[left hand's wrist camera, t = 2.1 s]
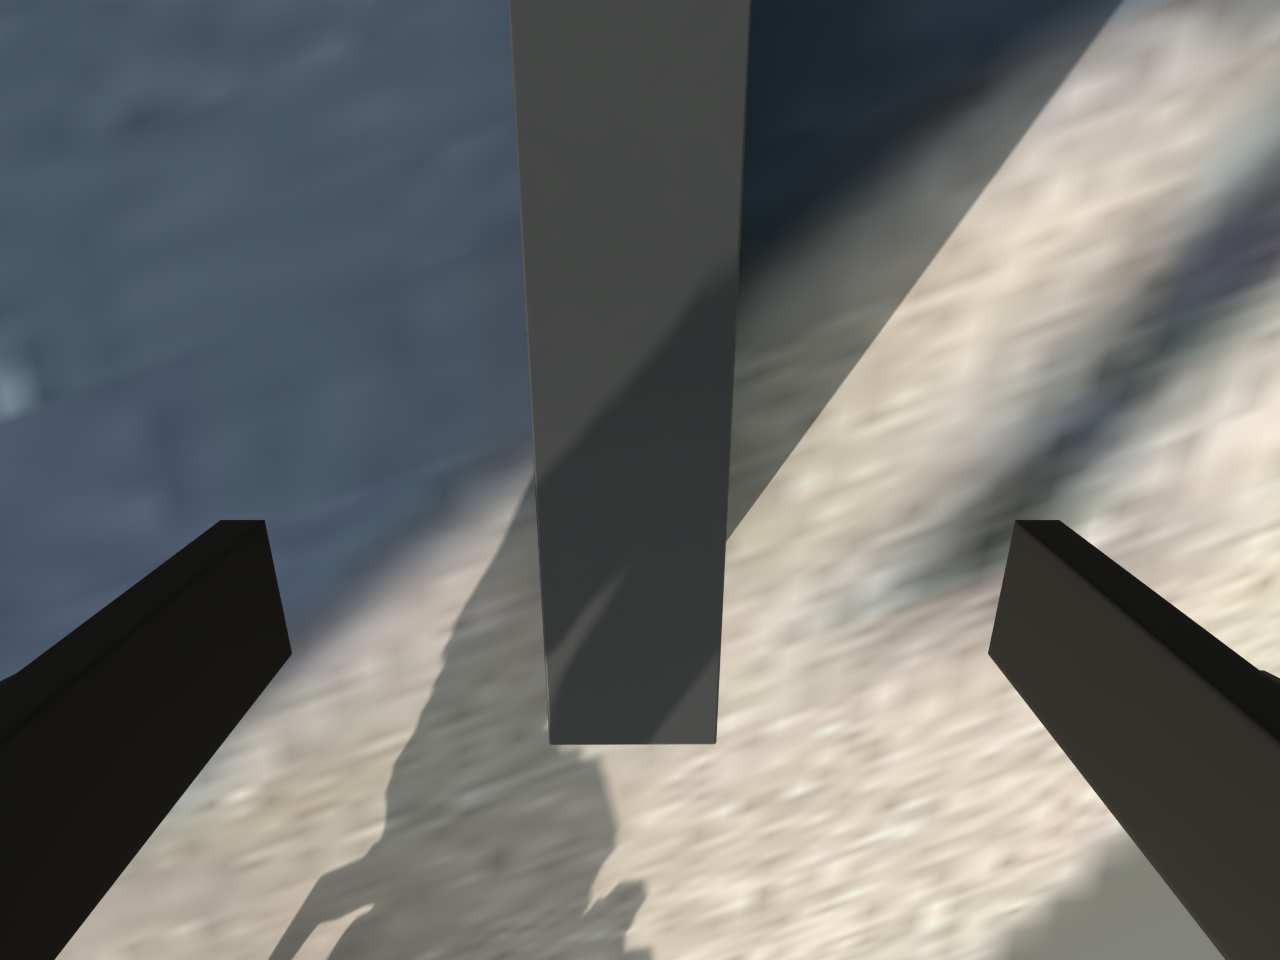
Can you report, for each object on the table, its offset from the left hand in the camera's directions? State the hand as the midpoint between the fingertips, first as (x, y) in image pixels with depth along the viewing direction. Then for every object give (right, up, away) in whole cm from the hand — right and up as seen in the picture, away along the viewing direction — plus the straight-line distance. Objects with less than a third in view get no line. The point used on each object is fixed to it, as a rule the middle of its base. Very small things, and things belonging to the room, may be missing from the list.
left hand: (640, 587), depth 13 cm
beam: (0, +28, +4) cm, 28 cm away
